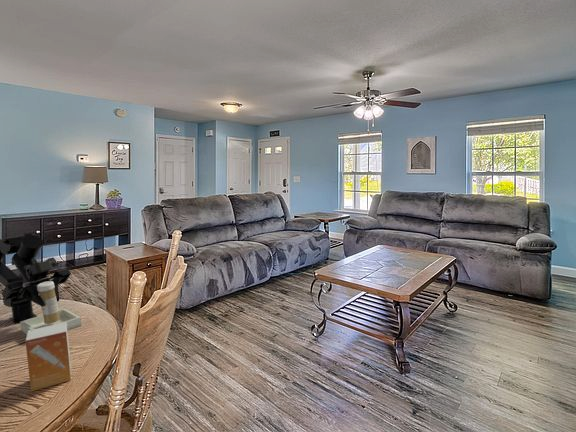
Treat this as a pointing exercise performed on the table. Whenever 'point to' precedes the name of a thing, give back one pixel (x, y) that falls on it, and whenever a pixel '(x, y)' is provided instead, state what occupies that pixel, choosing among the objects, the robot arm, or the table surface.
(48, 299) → the sprinkles bottle
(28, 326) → the tray
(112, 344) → the table surface
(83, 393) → the table surface
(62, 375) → the small box
